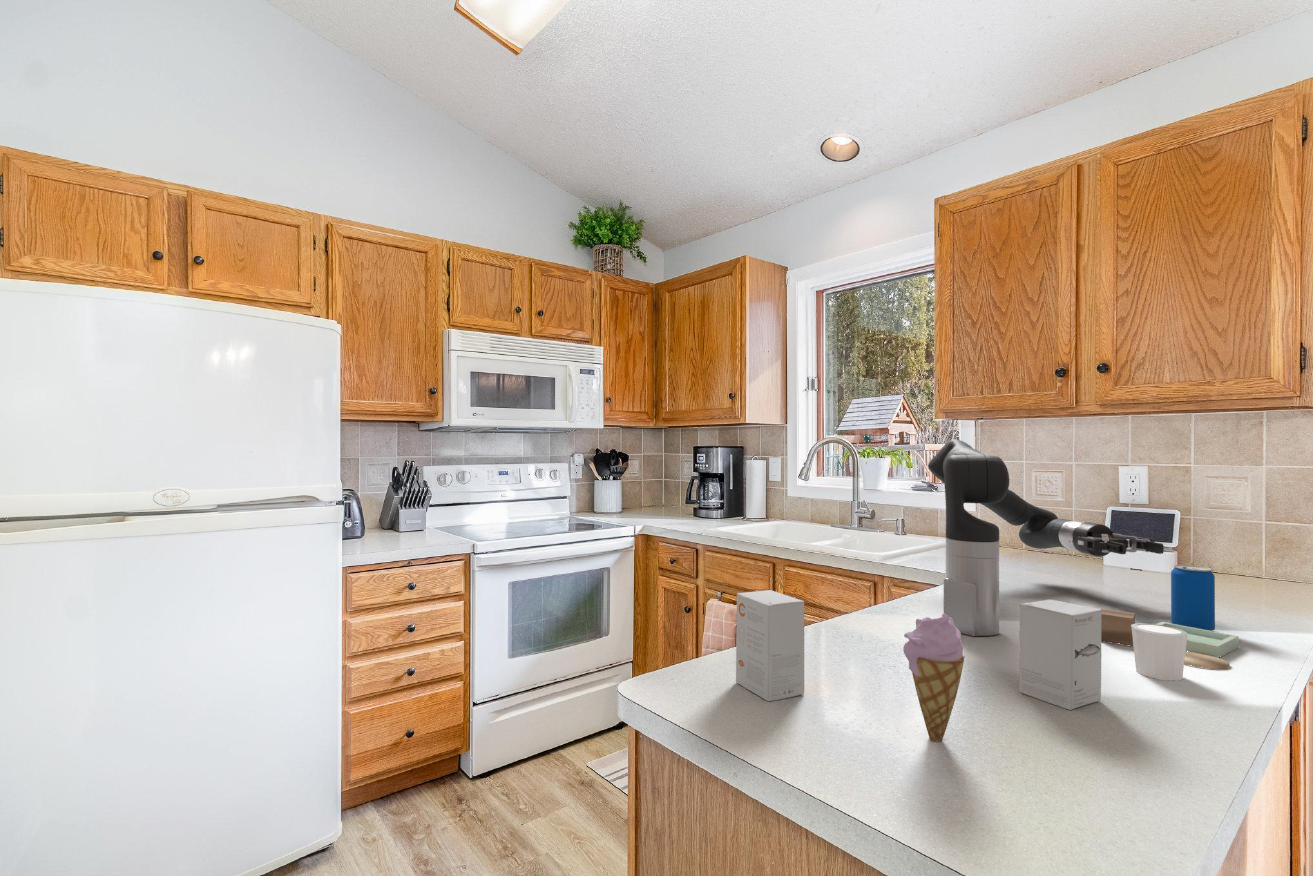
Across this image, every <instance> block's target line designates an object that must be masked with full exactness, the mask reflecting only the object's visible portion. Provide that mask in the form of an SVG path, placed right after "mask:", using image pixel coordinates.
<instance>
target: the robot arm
mask: <svg viewBox="0 0 1313 876" xmlns="http://www.w3.org/2000/svg"><path fill="white" fill-rule="evenodd" d="M927 468H928V470H929V471H930V473H932V475H934V476H935V477H936V478H937V479H938V480H940V481H941V482H942V483H944V497H945V498H944V499H945V578H944V579H943V613H944V614H946V615H947V616H948V617H951V618H952V619H953V622H954V626H955V627H956V628H957V629H958V630H959V631H960V633H961V634H963V635H967V636H971V637H978V636H980V637H981V636H984V637H985V636H987V637H989V636H995V635H998V634H1000V528H999V527H998V525H996V524H995V523H992V522H989V521H987V520H985V519H980V518H979V517H977V516H974V515H973V514H971V513H970V512H968V511H967V510H966V509H965V507H964V505H965V504H980V505H982V506H984V507H986V508H987V509H988V510H990V511H992V512H993V513H994V514H996V515H997V516H999V518H1002V519H1003V520H1004V521H1005V522H1007V523H1008V524H1010V525H1012V526H1015V527H1017V526H1021V527H1020V529H1019V532H1018V537H1019V539H1020V541H1021V542H1022V543H1023V544H1024V545H1026V546H1027V547H1030V548H1032V549H1036V550H1037V549H1038V550H1039V549H1040V550H1045V549H1053V548H1063V549H1068V550H1071V551H1073V552H1077V553H1080V554H1084V555H1088V556H1093V557H1100V558H1101V557H1105V556H1108V555H1109V554H1110V553H1113V554H1119V555H1126V554H1127V553H1136V552H1137V551H1140V552H1145V553H1153V554H1159V555H1162V554H1164V553H1165V552H1164V551H1165V550H1164V547H1165V546H1164V544H1163V543H1161V542H1156V540H1155V539H1153V538H1147V537H1140V536H1134V535H1125V534H1124V535H1123V534H1121V533H1114V532H1113V530H1112V529H1111V528H1110V527H1109V526H1107V525H1105V524H1101V523H1096V522H1095V523H1094V522H1089V521H1083V520H1070V519H1064V518H1059V517H1058V516H1057V514H1056V513H1054V512H1053V511H1050V510H1048V509H1044V508H1042V507H1039V506H1035V505H1034V504H1032V503H1030V502H1027V501H1026V500H1025V499H1024V498H1023V497H1021V496H1020V495H1018V493H1015V492H1014V491H1012V490H1011V489H1009V488H1010V474H1009V470H1008V468H1007V465H1006V463H1005V462H1004V460H1003V459H1002V458H1000V457H999V456H996V455H990V454H989V455H988V454H987V455H985V454H984V453H982V452H981V451H979V450H977V449H975V448H973V446H971V445H970V444H968V443H967V442H966V441H963V440H960V439H957V438H955V439H953V438H952V439H950V440H948V441H947V442H946V443H945V444H944V445H943V446H942V447H941V449H939V450H938V452H937V453H936V454H935V455H934V456H933V457H932V458H931V460H930V461H929V462H928V464H927ZM1129 547H1130V548H1129Z"/></svg>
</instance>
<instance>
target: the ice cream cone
mask: <svg viewBox="0 0 1313 876" xmlns="http://www.w3.org/2000/svg"><path fill="white" fill-rule="evenodd" d="M903 636H904V638H906V639H908V641H907V642H905V643H904V645H903V654H904V656H905V658H906V659H907V661H908V669H909V670H910V671H911V673H912V679H913V683H914V687H915V688H914V689H915V692H916V695H917V698H918V703H919V708H920V711H921V713H922V714H921V715H922V717H923V720H924V721H923V722H924V724H925V728H926V731H927V735H928V738H929V740H930V741H932V742H936V743H942V741H943V740H944V737H945V734H946V731H947V728H948V727H947V726H948V724H949V721H950V717H951V715H952V712H953V708H954V705H955V702H956V699H957V694H958V689H959V687H960V683H961V678H962V674H963V668H964V663H965V659H966V658H965V656H964V654H963V653H964V652H963V651H964V645H963V642H962V641H961V640H962V633H960V631H959V630H958V629H957V628H956V627H955V626H954V622H953V619H952V618H951V617H948V616H947V615H946V614H944V612H942V615H941V616H940V617H938V618H930V617H929V616H926V617H923V618H922V619H920V618H916V619H915V629H913V631H908V632H905V633H904V634H903Z"/></svg>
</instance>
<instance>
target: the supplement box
mask: <svg viewBox="0 0 1313 876" xmlns="http://www.w3.org/2000/svg"><path fill="white" fill-rule="evenodd" d="M1101 611H1102V610H1101V609H1100V608H1094V607H1091V606H1087V605H1086V606H1085V605H1081V604H1077V603H1071V602H1065V601H1060V600H1056V599H1044V600H1038V601H1032V602H1025V603H1020V604H1019V647H1018V649H1019V659H1018V661H1019V664H1018V667H1019V669H1018V675H1019V677H1018V678H1019V679H1018V681H1019V682H1018V685H1019V686H1018V691H1019V693H1021V694H1023V695H1026V696H1029V697H1032V698H1035V699H1037V700H1041V701H1043V702H1046V703H1049V704H1051V705H1053V706H1054V705H1055V706H1056V707H1060V708H1062V709H1065V710H1070V711H1072V710H1075V709H1076V708H1077V709H1078V708H1080V707H1082V706H1086V705H1090V704H1093V703H1098V702H1100V701H1102V641H1101Z"/></svg>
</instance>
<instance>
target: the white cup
mask: <svg viewBox="0 0 1313 876" xmlns="http://www.w3.org/2000/svg"><path fill="white" fill-rule="evenodd" d="M1156 624H1157V623H1145V622H1144V623H1143V622H1142V623H1135V624H1132V625H1131V628H1132V637H1133V653H1134V654H1133V655H1134V663H1135V672H1136V673H1138V674H1139V675H1141V674H1142V676H1145V677H1147V676H1148V677H1147V678H1152V679H1154V678H1155V680H1162V681H1167V680H1180V681H1181V679H1182V680H1183V675H1184V667H1185V665H1184V660H1185V651H1186V642H1187V632H1185V631H1183V630H1180V629H1177V628H1173V627H1168V626H1163V625H1156Z"/></svg>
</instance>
